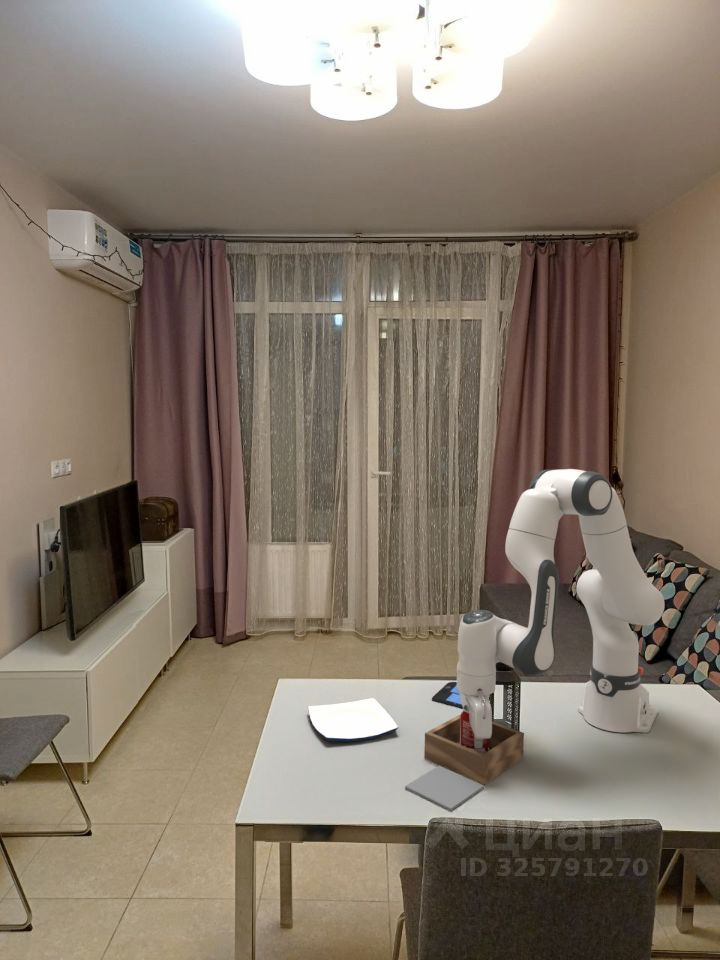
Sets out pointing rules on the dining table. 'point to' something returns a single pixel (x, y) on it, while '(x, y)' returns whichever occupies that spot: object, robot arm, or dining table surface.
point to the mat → (444, 788)
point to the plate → (351, 720)
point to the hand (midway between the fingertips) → (474, 738)
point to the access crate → (471, 762)
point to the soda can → (470, 734)
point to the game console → (448, 695)
